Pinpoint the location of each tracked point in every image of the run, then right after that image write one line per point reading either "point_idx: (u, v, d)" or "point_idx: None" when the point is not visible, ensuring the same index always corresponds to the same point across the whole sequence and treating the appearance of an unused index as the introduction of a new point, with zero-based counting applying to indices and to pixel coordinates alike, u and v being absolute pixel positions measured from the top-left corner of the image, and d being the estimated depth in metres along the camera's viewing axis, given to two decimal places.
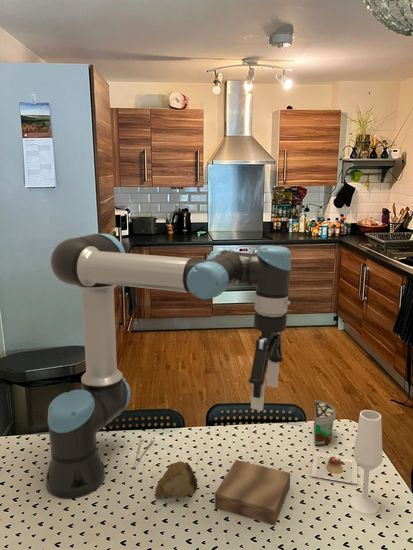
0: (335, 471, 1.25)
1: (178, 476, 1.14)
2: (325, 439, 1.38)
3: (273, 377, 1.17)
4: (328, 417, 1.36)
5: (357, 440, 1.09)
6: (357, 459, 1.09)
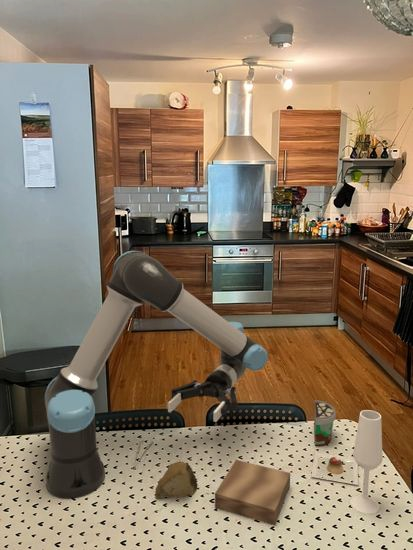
0: (336, 472, 1.25)
1: (178, 476, 1.14)
2: (325, 439, 1.38)
3: (174, 404, 1.29)
4: (328, 417, 1.36)
5: (357, 440, 1.09)
6: (357, 459, 1.09)
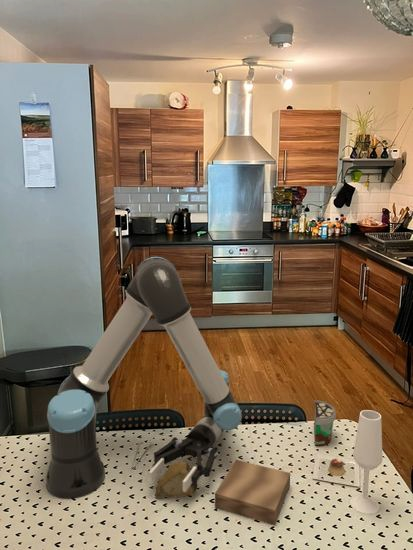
0: (337, 473, 1.24)
1: (178, 477, 1.14)
2: (325, 439, 1.38)
3: (156, 472, 1.17)
4: (328, 417, 1.36)
5: (357, 440, 1.09)
6: (357, 459, 1.09)
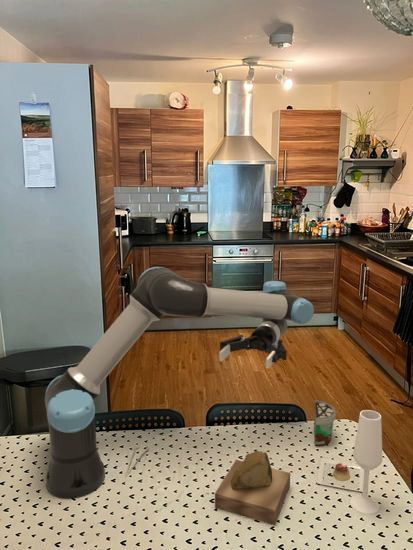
0: (342, 478, 1.22)
1: (257, 466, 1.11)
2: (325, 439, 1.38)
3: (225, 354, 1.32)
4: (328, 417, 1.36)
5: (357, 440, 1.09)
6: (357, 459, 1.09)
